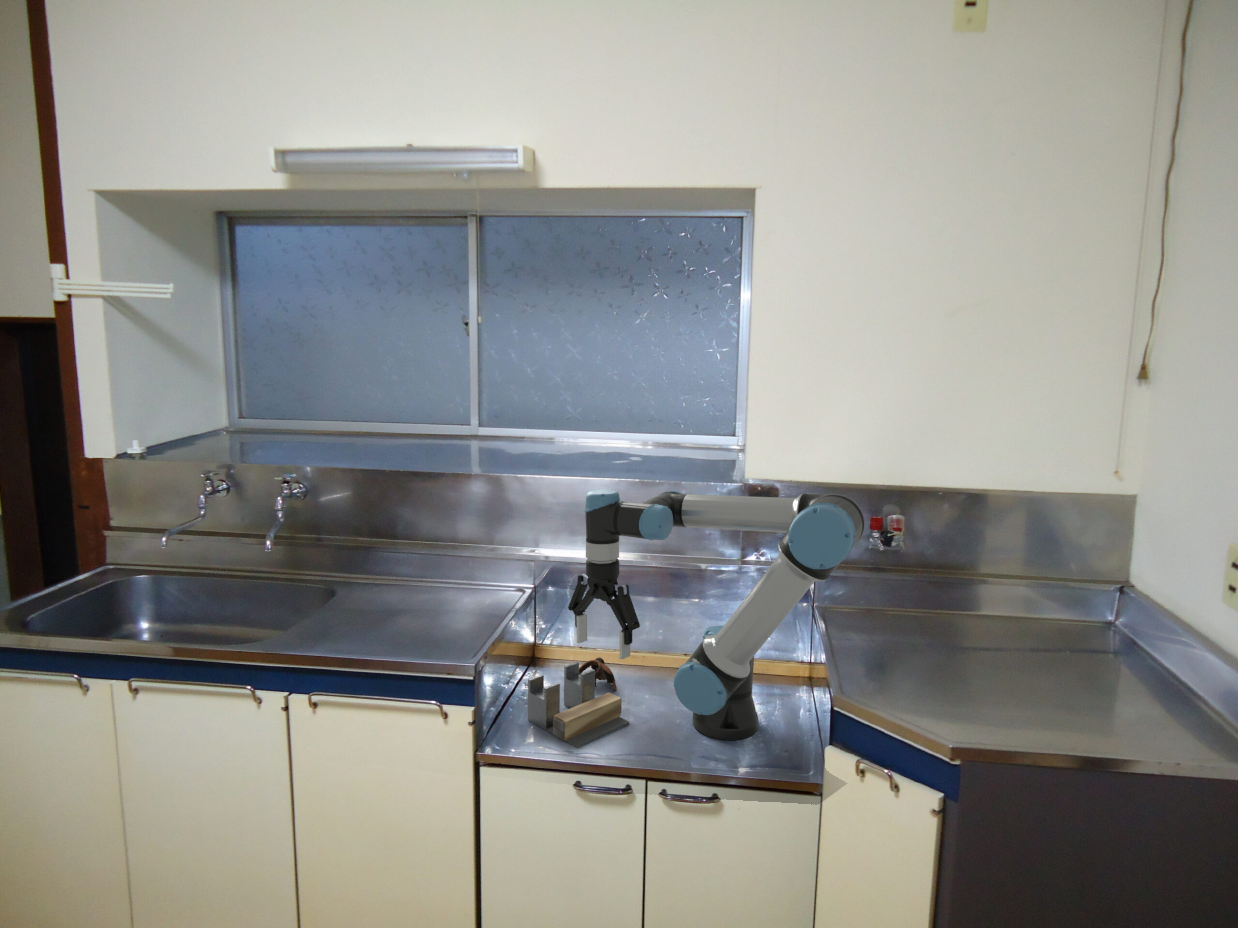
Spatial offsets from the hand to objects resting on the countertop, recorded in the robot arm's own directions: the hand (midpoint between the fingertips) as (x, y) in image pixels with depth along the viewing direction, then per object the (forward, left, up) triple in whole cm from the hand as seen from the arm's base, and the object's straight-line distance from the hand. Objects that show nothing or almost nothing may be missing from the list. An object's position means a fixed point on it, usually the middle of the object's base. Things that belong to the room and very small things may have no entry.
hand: (603, 649), depth 185 cm
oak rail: (+1, +4, -17) cm, 18 cm away
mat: (0, +4, -18) cm, 18 cm away
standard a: (+9, -1, -18) cm, 20 cm away
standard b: (+9, +10, -18) cm, 22 cm away
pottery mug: (+15, -12, -18) cm, 27 cm away
